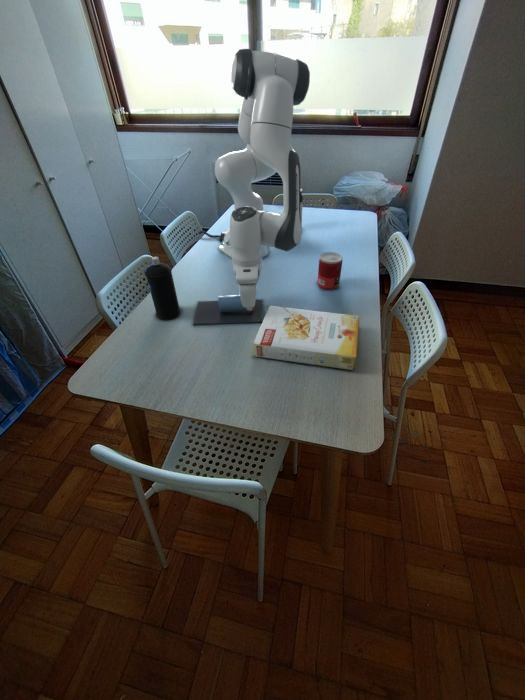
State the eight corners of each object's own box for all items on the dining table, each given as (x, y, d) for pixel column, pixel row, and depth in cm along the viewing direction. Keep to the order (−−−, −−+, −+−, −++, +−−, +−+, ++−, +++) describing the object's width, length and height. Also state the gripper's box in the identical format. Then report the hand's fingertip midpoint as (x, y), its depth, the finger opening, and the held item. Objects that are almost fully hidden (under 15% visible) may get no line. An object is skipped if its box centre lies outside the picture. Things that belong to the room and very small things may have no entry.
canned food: (338, 291, 124) (342, 262, 117) (316, 289, 126) (318, 261, 119) (339, 280, 130) (343, 252, 123) (317, 278, 131) (320, 251, 124)
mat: (193, 325, 112) (193, 324, 111) (198, 302, 121) (198, 301, 121) (262, 323, 111) (262, 321, 111) (261, 300, 121) (261, 299, 121)
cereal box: (357, 356, 90) (252, 342, 95) (354, 372, 93) (252, 357, 99) (360, 313, 105) (268, 303, 110) (357, 328, 108) (268, 317, 114)
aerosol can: (185, 308, 119) (174, 253, 106) (173, 322, 113) (159, 266, 100) (164, 304, 121) (150, 250, 108) (151, 317, 115) (135, 262, 102)
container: (217, 301, 110) (252, 299, 110) (219, 292, 115) (252, 289, 114) (220, 316, 114) (253, 314, 114) (221, 306, 118) (253, 304, 118)
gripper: (238, 249, 113) (241, 286, 122) (235, 282, 97) (239, 321, 107) (257, 248, 113) (259, 286, 122) (258, 281, 97) (259, 321, 107)
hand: (249, 303), depth 114 cm, fingers closed on container, 6 cm apart
